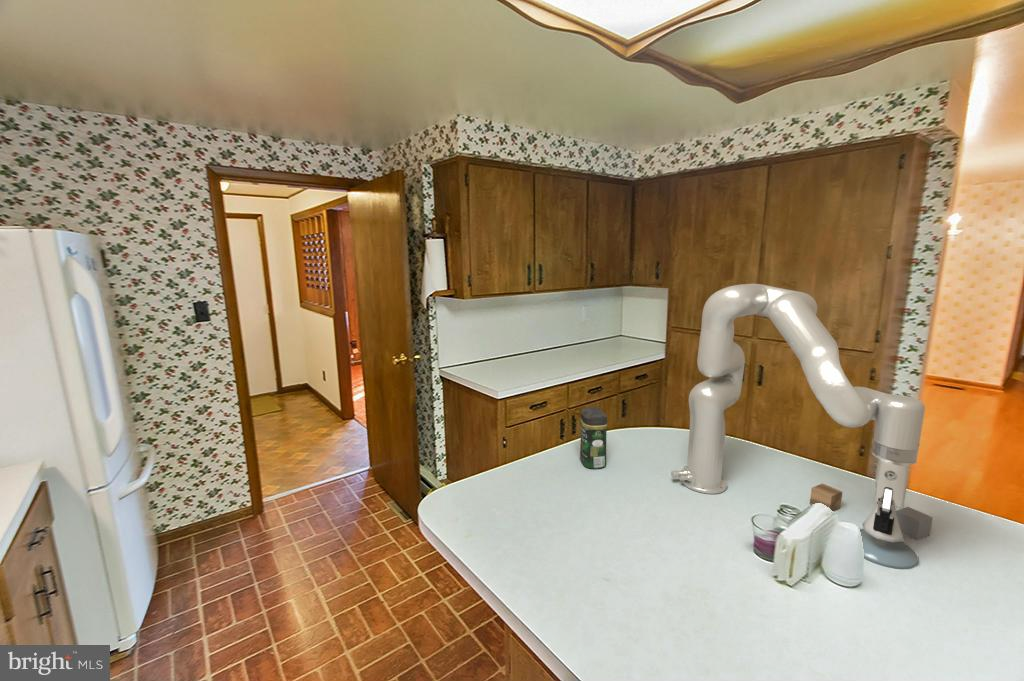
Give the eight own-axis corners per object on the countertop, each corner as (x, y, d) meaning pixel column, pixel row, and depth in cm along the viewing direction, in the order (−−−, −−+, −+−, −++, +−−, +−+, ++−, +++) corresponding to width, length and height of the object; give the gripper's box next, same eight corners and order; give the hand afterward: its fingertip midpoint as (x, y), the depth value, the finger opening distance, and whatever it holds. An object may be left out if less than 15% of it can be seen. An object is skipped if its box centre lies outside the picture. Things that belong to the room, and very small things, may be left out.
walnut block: (829, 513, 116) (831, 496, 115) (809, 504, 120) (811, 487, 119) (840, 508, 118) (842, 491, 117) (820, 499, 123) (822, 483, 122)
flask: (911, 545, 96) (918, 503, 95) (873, 541, 98) (879, 500, 96) (890, 526, 103) (896, 486, 102) (855, 522, 105) (861, 483, 103)
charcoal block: (916, 541, 104) (919, 521, 104) (892, 529, 109) (895, 510, 108) (929, 536, 106) (932, 517, 105) (905, 524, 111) (908, 506, 110)
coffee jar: (577, 457, 150) (578, 405, 147) (600, 456, 151) (601, 404, 147) (584, 470, 140) (586, 415, 137) (609, 469, 141) (610, 414, 138)
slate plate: (879, 571, 94) (879, 567, 94) (830, 534, 107) (830, 530, 107) (933, 566, 96) (934, 562, 96) (878, 530, 108) (879, 526, 108)
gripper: (917, 470, 88) (904, 551, 92) (917, 443, 101) (905, 516, 104) (869, 459, 93) (858, 537, 97) (875, 435, 106) (865, 504, 109)
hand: (883, 525), depth 100 cm, fingers closed on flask, 5 cm apart
